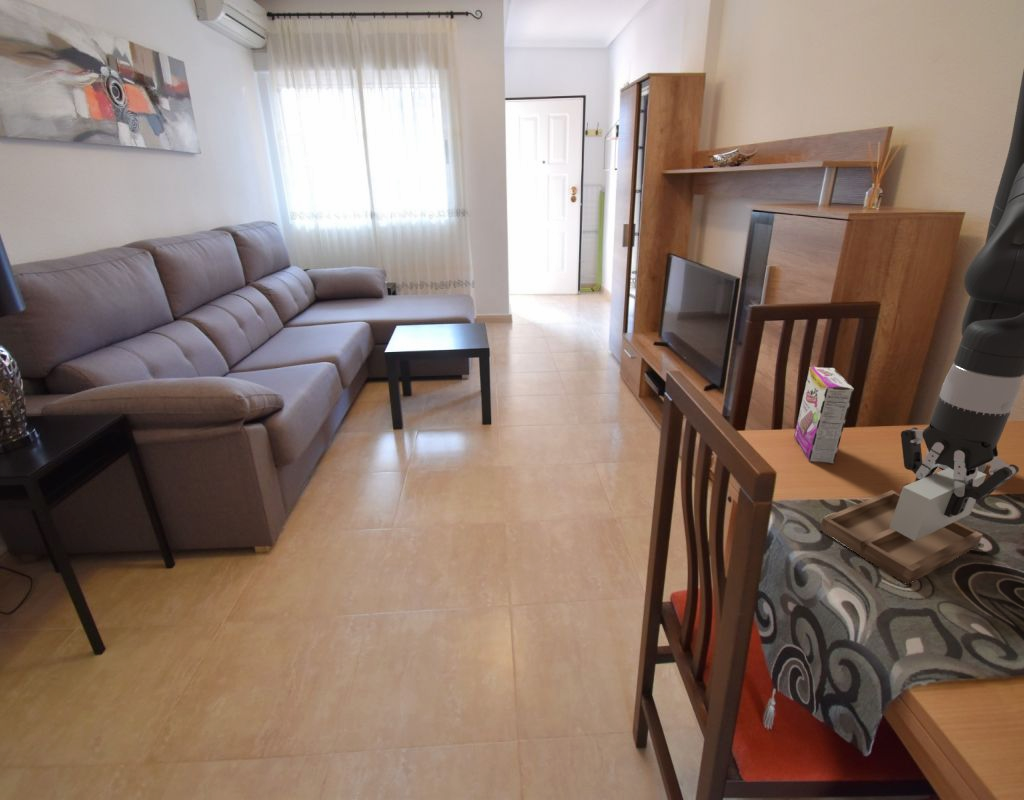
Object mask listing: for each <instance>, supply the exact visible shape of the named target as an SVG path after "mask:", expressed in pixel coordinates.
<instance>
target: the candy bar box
mask: <svg viewBox="0 0 1024 800" xmlns="http://www.w3.org/2000/svg"><path fill="white" fill-rule="evenodd" d="M808 368H809V369H808V373H807V376H806V377H807V378H806V380H805V381H806V382H805V387H804V390H803V395H802V400H801V404H800V407H799V408H800V409H799V412H798V417H797V422H796V427H795V431H794V434H793V438H795V439H794V440H796V442H797V443H798V445H799V447H800V448H801V450H802V452H803V454H804V455H805V457H806V459H807V460H808V462H812V463H820V464H821V463H824V464H832V465H834V464H835V461H836V457H837V454H838V451H839V450H838V449H839V446H840V442H841V439H842V434H843V432H844V427H845V424H846V420H847V417H848V412H849V409H850V405H851V401H852V398H853V393H854V390H855V388H854V387H853V386H852V385H851V384H850V382H848V381H847V380H846V379H845V378H844V377H843V375H841V373H839V372H838V370H836V369H835V367H825V366H819V367H818V366H809V367H808Z"/></svg>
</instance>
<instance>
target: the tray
mask: <svg viewBox="0 0 1024 800" xmlns="http://www.w3.org/2000/svg"><path fill="white" fill-rule="evenodd" d="M900 495H901V493H899V492H897V491H895V490H893V489H891V490H889V491H885V492H884V493H881V494H879V495H877V496H874V497H871V498H869V499H866V500H865V501H862V502H860V503H856V504H854V505H851V506H850V507H847V508H844V509H842V510H839V511H837V512H835V513H832V514H830V515H828V516H824V517H823V518H822V521H821V522H820V526H819V530H820V529H822V530H823V531H825V532H826V533H827V534H829V535H831V536H832V537H834V538H835V539H837V540H838V541H840V542H841V543H843V544H845V545H846V546H847V547H849V548H850V549H852V550H853V551H855V552H856V553H857V554H859V555H860V556H859V555H858V556H859V557H861V556H862V557H863V558H862V557H861V558H862V559H864V558H865V559H864V560H866V559H867V560H868V561H867V560H866V561H867V562H869V561H870V562H871V564H872V563H873V564H872V565H874V564H875V565H876V566H875V565H874V566H875V567H877V566H878V567H877V568H878V569H879V570H882V571H883V570H884V572H885V573H887V574H888V575H889V576H891V575H892V577H893V576H894V577H893V578H895V577H896V578H898V579H899V580H898V579H897V580H898V581H900V580H901V581H903V582H904V583H906V584H908V585H909V583H910V584H911V582H912V581H913V582H915V581H917V580H919V579H921V578H923V577H925V576H927V575H928V574H931V573H932V572H934V571H936V570H938V569H939V568H941V567H944V566H945V565H948V564H949V563H951V562H953V561H955V560H956V558H957V559H959V558H960V557H962V556H964V555H966V554H967V553H966V552H968V553H970V552H971V551H970V550H972V549H973V550H975V549H976V548H975V547H977V546H979V545H980V543H981V540H982V538H983V533H981V532H980V531H978V530H975V529H973V528H971V527H969V526H967V525H965V524H963V523H960V522H959V521H958V520H957V521H955V522H953V523H951V524H949V525H947V526H945V527H943V528H941V529H939V530H937V531H935V532H933V533H931V534H929V535H926V536H924V537H922V538H920V539H918V540H916V541H914V540H912V539H910V538H908V537H906V536H904V535H903V534H901V533H899V532H897V531H895V530H893V529H892V528H890V524H891V521H892V518H893V515H894V512H895V509H896V506H897V503H898V500H899V497H900ZM974 548H975V549H974ZM977 548H978V547H977ZM973 550H972V551H973ZM853 551H852V552H853ZM969 551H970V552H969ZM856 553H855V554H856ZM965 553H966V554H965ZM857 554H856V555H857ZM963 554H964V555H963ZM961 555H962V556H961ZM959 556H960V557H959ZM954 559H955V560H954ZM870 562H869V563H870ZM896 578H895V579H896ZM914 580H915V581H914ZM901 581H900V582H901ZM903 582H902V583H903ZM913 582H912V583H913ZM904 583H903V584H904ZM906 584H905V585H906Z"/></svg>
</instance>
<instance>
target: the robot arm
mask: <svg viewBox="0 0 1024 800" xmlns="http://www.w3.org/2000/svg"><path fill="white" fill-rule="evenodd" d="M1019 88H1020V89H1019V94H1018V98H1017V105H1016V109H1015V110H1016V111H1015V116H1014V121H1013V122H1014V123H1013V128H1012V133H1011V138H1010V144H1009V148H1008V152H1007V156H1006V158H1005V159H1006V160H1005V163H1004V167H1003V171H1002V173H1001V177H1000V181H999V184H998V187H997V191H996V195H995V198H994V202H993V206H992V211H991V214H990V219H989V221H988V222H989V223H988V228H987V232H986V239H985V244H983V246H982V248H981V249H980V250H979V251H978V253H977V254H976V255H975V257H974V258H973V259H972V261H971V263H970V264H969V266H968V267H967V270H966V271H965V274H964V276H963V277H964V278H963V286H964V290H965V291H966V293H967V294H968V296H970V297H969V299H968V302H967V306H966V309H965V311H964V316H963V318H962V321H961V322H962V323H961V336H962V337H961V341H960V344H959V346H958V349H957V351H956V355H955V357H954V360H953V363H952V365H951V367H950V369H949V371H948V373H947V374H946V377H945V378H944V381H943V383H942V385H941V387H940V393H939V396H938V398H937V401H936V404H935V407H934V410H933V413H932V415H931V418H930V422H929V425H928V426H927V427H926V428H924V429H919V428H917V427H911V428H907V429H905V430H902V431H901V432H900V439H901V447H902V449H901V450H902V457H903V458H902V459H903V466H904V468H905V469H906V470H908V471H911V472H912V473H914V475H915V480H914V482H916V481H918V480H921V479H923V478H925V477H928V476H930V475H933V474H935V473H937V471H938V469H939V468H940V469H943V470H945V469H947V468H951V469H952V470H954V474H953V479H954V480H955V485H954V493H953V494H952V495H951V498H950V500H949V503H948V505H947V508H946V510H945V513H944V515H945V516H947V517H952V516H956V515H958V514H960V513H962V512H963V511H964V509H965V506H966V504H967V502H968V499H969V497H971V498H973V499H976V501H978V500H979V501H980V500H981V499H983V498H985V497H987V496H989V495H991V494H992V493H993V492H994V491H996V490H997V489H998V488H1000V487H1001V486H1002V485H1003V484H1005V483H1006V482H1007V481H1009V480H1010V479H1012V478H1013V477H1014V476H1015V475H1016V474H1018V473H1019V471H1020V468H1019V466H1017V465H1016V464H1009V463H1006V461H1004V460H1003V459H1001V458H1000V457H999V452H998V444H999V441H1000V439H1001V436H1002V435H1003V433H1004V432H1003V431H1004V429H1005V427H1006V425H1007V422H1008V419H1009V418H1010V416H1011V413H1012V410H1013V408H1014V406H1015V403H1016V400H1017V398H1018V396H1019V393H1020V391H1021V384H1022V380H1024V379H1023V378H1024V69H1023V70H1022V76H1021V83H1020V87H1019ZM923 442H924V443H925V446H926V448H927V451H926V454H925V458H924V459H923V455H922V454H923V453H922V446H921V445H922V444H921V443H923ZM988 464H989V465H990V467H989V469H988V473H989V475H990V476H989V477H987V478H986V479H985V480H984V482H983V483H982V484H981V485H979V486H978V487H976V486H974V483H975V478H976V476H977V472H978V471H979V472H982V473H985V470H986V468H987V465H988Z"/></svg>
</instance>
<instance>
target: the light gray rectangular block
mask: <svg viewBox="0 0 1024 800" xmlns="http://www.w3.org/2000/svg"><path fill="white" fill-rule="evenodd" d="M953 474H954V470H952V469H951V468H947V469H943V470H942V469H941V470H940V471H938V472H937V471H936V472H935V473H934V474H933V475H930V476H928V477H925V478H923V479H921V480H918V481H916V482H915V481H913V482H910V483H909V484H907V485H904V486H903V487H902V490H901V492H900V494H901V495H900V497H899V500H898V503H897V506H896V509H895V512H894V515H893V518H892V521H891V524H890V528H892V529H893V530H895V531H897V532H899V533H901V534H903V535H904V536H906V537H908V538H910V539H912V540H914V541H916V540H918V539H920V538H922V537H924V536H926V535H929V534H931V533H933V532H935V531H937V530H939V529H941V528H943V527H945V526H947V525H949V524H951V523H953V522H955V521H957V522H958V520H959V521H960V520H961V519H962V518H966V517H967V516H969V515H971V514H972V511H973V509H974V506H975V504H976V501H977V500H976V499H973V498H971V497H969V499H968V502H967V504H966V506H965V509H964V511H963V512H962V513H960V514H958V515H956V516H952V517H947V516H945V515H944V513H945V510H946V508H947V505H948V503H949V500H950V498H951V495H952V494H953V493H954V485H955V480H954V479H953ZM986 477H987V474H986V473H985V472H983V473H982V472H979V471H978V472H977V476H976V478H975V483H974V486H976V487H978V486H979V485H981V484H982V483H983V482H984V481H985V480H986Z"/></svg>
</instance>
